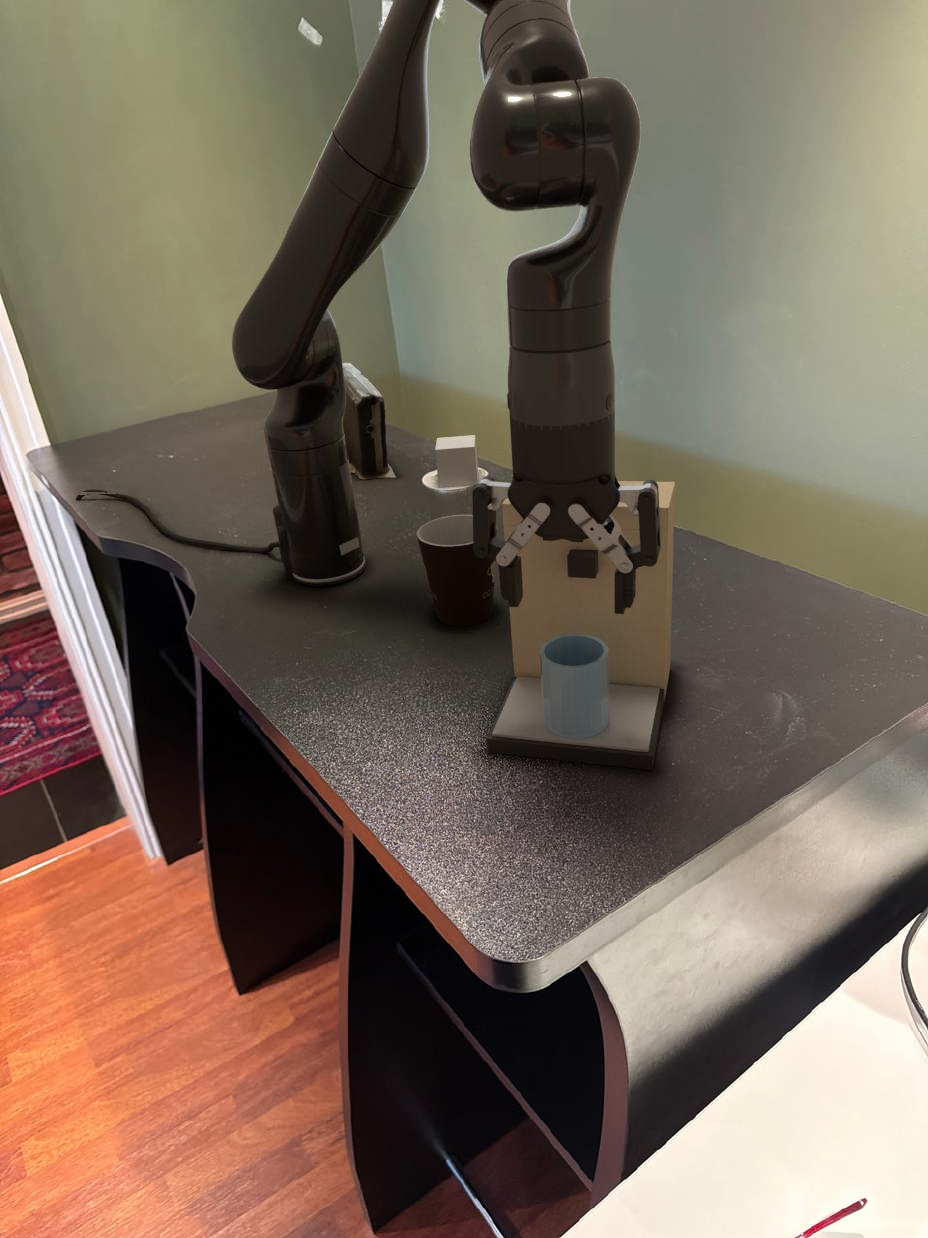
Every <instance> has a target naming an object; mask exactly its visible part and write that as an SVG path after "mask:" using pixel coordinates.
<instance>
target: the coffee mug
mask: <svg viewBox="0 0 928 1238" xmlns="http://www.w3.org/2000/svg"><path fill="white" fill-rule="evenodd" d="M497 529H498V527H497V524H496V533H498V532H497V531H498V530H497ZM416 538H417V541H418V546H419V550H420V554H421V558H422V563H423V565H424V570H425V573H426V578H427V582H428V586H429V589H430V594H431V598H432V602H433V605H434V606H433V607H434V610H435V614H436V618H437V619H438V620H439V621H440V622H442V623H444V624H446V625H450V626H457V627H458V626H460V627H461V626H462V627H463V626H471V625H476V624H479V623H482V622H484V621H486V620H487V619H489V618H490V617H491V616H492V614H493V612H494V597H495V595H494V594H495V576H496V575H495V573H496V561H494V560H493V559H490V558H488V557H485V558H479V557H477V556H476V555H475V554H474V551H473V514H453V515H445V516H441V517H437V518H435V519H434V518H433V519H432V520H429V521H427V522H426V523H423V524H422V525H421V526H420V527H419V528H418V529H417V531H416Z"/></svg>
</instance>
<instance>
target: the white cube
mask: <svg viewBox="0 0 928 1238" xmlns="http://www.w3.org/2000/svg"><path fill="white" fill-rule="evenodd" d="M434 448H435V449H434V454H435V462H436V471H437V472H436V473H437V481H438V488H446V487H460V486H461V487H462V486H472V485H473V486H475V485H476V486H477V484H478V483H479V463H478V452H477V439H476V435H475V434H473V435H456V436H444V437H437V438H436V442H435V447H434Z"/></svg>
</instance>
